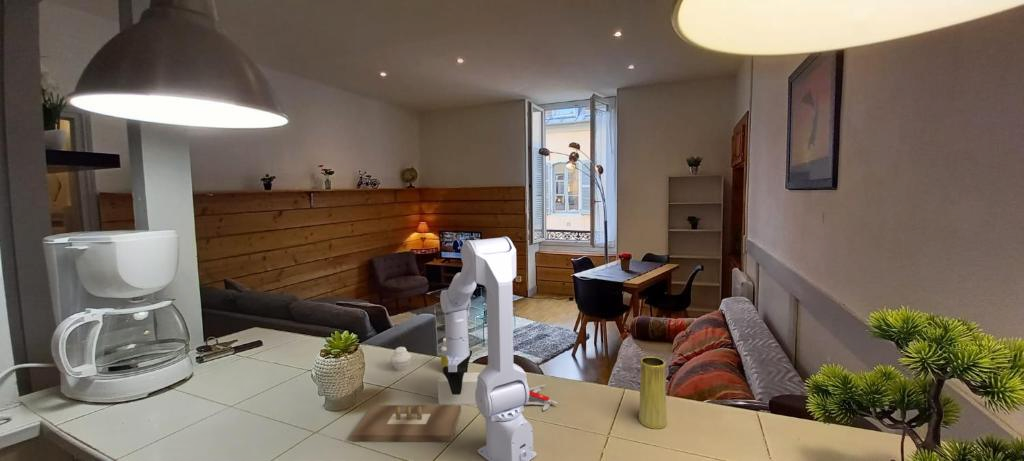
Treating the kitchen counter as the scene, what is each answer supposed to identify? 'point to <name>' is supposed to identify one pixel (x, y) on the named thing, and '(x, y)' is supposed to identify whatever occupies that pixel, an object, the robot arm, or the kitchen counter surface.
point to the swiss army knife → (539, 398)
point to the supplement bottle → (443, 358)
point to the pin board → (408, 423)
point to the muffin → (400, 359)
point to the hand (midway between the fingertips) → (459, 386)
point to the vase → (652, 393)
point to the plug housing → (466, 393)
